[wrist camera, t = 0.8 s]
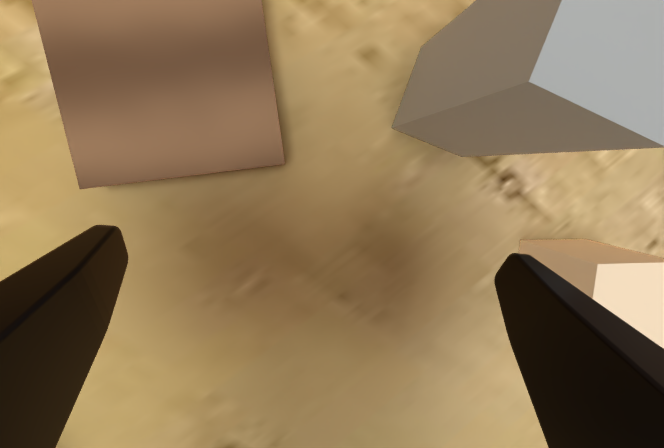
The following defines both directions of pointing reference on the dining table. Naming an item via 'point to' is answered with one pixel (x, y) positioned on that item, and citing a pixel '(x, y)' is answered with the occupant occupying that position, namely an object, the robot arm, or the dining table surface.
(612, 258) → the cream block
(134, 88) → the walnut slab
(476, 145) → the gray block
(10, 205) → the dining table surface
